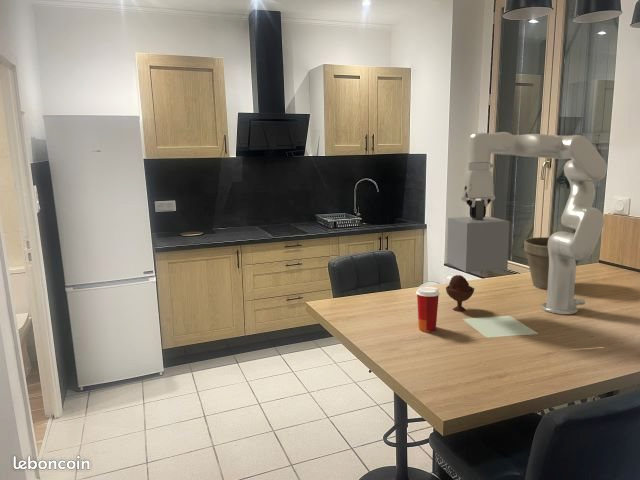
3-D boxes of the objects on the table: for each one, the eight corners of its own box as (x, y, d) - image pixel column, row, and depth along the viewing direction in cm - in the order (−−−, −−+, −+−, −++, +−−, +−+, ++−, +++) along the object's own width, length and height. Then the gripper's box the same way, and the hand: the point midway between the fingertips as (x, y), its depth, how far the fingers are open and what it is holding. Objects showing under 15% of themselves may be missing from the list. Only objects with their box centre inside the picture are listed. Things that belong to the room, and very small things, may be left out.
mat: (509, 316, 176) (509, 315, 176) (538, 334, 157) (538, 333, 157) (462, 319, 174) (462, 318, 174) (486, 338, 155) (486, 337, 155)
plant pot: (592, 293, 202) (596, 245, 198) (536, 294, 203) (539, 247, 199) (563, 279, 227) (566, 236, 223) (513, 280, 227) (515, 237, 223)
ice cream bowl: (475, 315, 178) (476, 278, 176) (446, 314, 180) (446, 277, 178) (472, 307, 188) (473, 271, 186) (444, 306, 191) (445, 271, 188)
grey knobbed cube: (485, 260, 182) (487, 198, 178) (507, 269, 166) (510, 201, 162) (446, 262, 180) (448, 199, 176) (465, 271, 164) (467, 203, 160)
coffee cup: (439, 326, 168) (440, 287, 165) (437, 334, 160) (438, 293, 158) (416, 324, 171) (417, 285, 168) (413, 332, 163) (414, 291, 160)
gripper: (494, 166, 172) (492, 215, 175) (453, 168, 169) (452, 217, 173) (505, 167, 164) (503, 217, 168) (463, 168, 162) (461, 219, 165)
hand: (477, 216), depth 170 cm, fingers closed on grey knobbed cube, 3 cm apart
